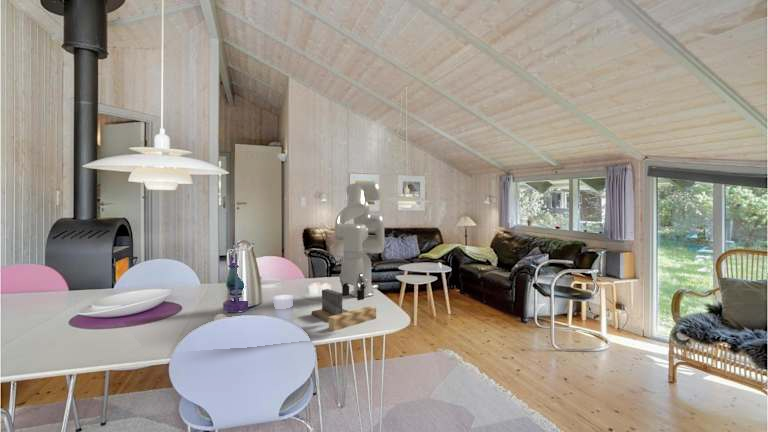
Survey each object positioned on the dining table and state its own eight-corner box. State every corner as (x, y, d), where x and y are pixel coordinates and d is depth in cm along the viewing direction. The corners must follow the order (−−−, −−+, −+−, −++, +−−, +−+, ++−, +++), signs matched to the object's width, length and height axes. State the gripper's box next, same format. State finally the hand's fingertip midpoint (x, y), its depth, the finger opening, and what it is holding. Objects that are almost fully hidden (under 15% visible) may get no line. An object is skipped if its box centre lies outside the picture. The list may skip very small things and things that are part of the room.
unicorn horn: (240, 341, 137) (240, 328, 137) (212, 326, 153) (212, 314, 153) (252, 338, 140) (252, 325, 140) (224, 324, 156) (224, 312, 156)
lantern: (223, 307, 179) (221, 244, 178) (249, 305, 183) (248, 243, 182) (223, 315, 167) (221, 247, 165) (251, 312, 171) (249, 246, 170)
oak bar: (370, 317, 164) (370, 305, 164) (376, 319, 162) (376, 307, 162) (328, 329, 149) (328, 316, 149) (334, 331, 147) (333, 318, 146)
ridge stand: (334, 309, 176) (333, 286, 175) (352, 315, 165) (352, 292, 165) (311, 314, 167) (311, 291, 167) (329, 322, 157) (329, 296, 157)
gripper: (332, 254, 158) (333, 295, 158) (359, 258, 145) (359, 303, 146) (347, 253, 163) (347, 292, 163) (373, 256, 150) (374, 299, 151)
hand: (353, 297), depth 154 cm, fingers open, 9 cm apart
